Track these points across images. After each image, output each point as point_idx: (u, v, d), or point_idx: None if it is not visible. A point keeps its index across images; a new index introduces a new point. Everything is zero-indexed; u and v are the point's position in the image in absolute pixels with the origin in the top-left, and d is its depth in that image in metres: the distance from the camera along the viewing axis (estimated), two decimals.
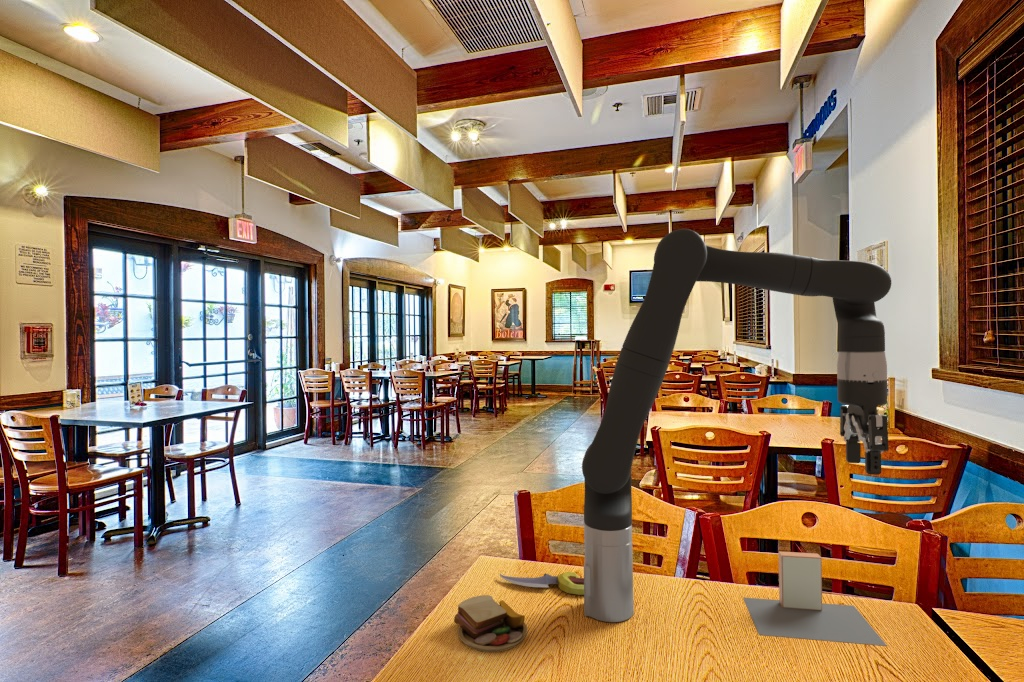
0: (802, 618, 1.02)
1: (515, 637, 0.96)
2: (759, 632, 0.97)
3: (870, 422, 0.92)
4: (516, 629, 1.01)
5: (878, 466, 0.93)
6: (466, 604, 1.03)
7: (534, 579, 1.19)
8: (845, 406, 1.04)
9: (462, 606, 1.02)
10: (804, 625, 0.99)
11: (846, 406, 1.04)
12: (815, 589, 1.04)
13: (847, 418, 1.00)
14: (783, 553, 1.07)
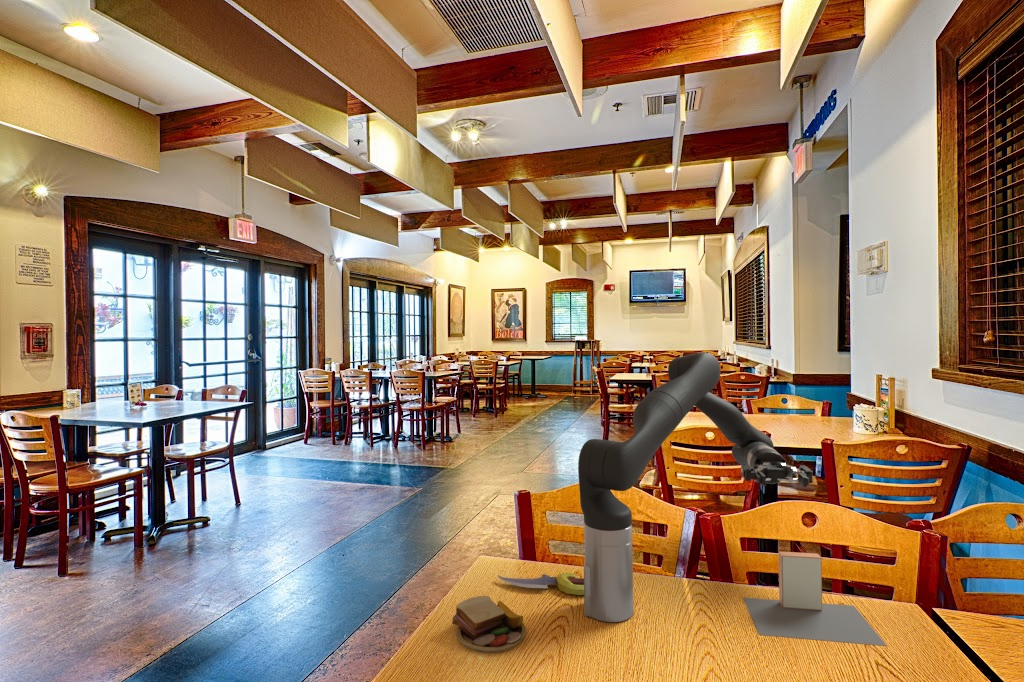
0: (802, 618, 1.02)
1: (514, 638, 0.96)
2: (759, 632, 0.97)
3: (805, 466, 1.24)
4: (514, 630, 1.01)
5: None
6: (464, 605, 1.02)
7: (533, 580, 1.19)
8: None
9: (460, 607, 1.02)
10: (804, 625, 0.99)
11: None
12: (815, 589, 1.04)
13: (768, 462, 1.25)
14: (783, 553, 1.07)
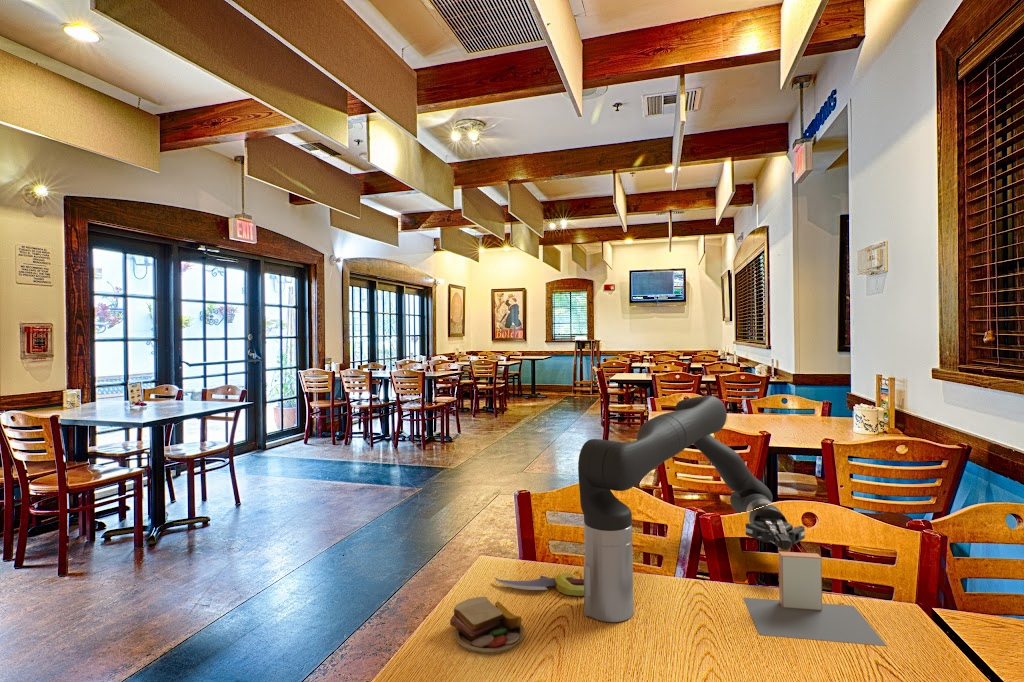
0: (802, 618, 1.02)
1: (513, 638, 0.96)
2: (759, 632, 0.97)
3: (801, 527, 1.23)
4: (513, 630, 1.01)
5: None
6: (462, 606, 1.02)
7: (531, 582, 1.18)
8: None
9: (458, 608, 1.01)
10: (804, 625, 0.99)
11: None
12: (815, 589, 1.04)
13: (768, 520, 1.26)
14: (783, 553, 1.07)
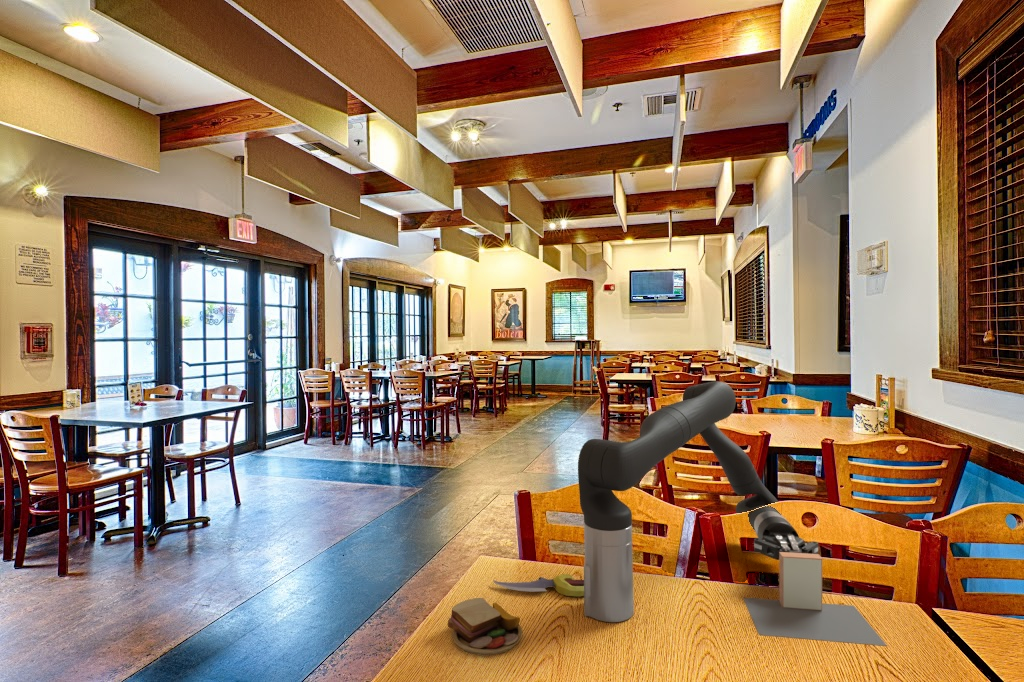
0: (802, 618, 1.02)
1: (511, 639, 0.95)
2: (759, 632, 0.97)
3: (814, 543, 1.14)
4: (511, 631, 1.00)
5: None
6: (459, 607, 1.01)
7: (530, 583, 1.17)
8: None
9: (455, 609, 1.01)
10: (804, 625, 0.99)
11: None
12: (815, 589, 1.04)
13: (778, 535, 1.17)
14: (784, 554, 1.06)
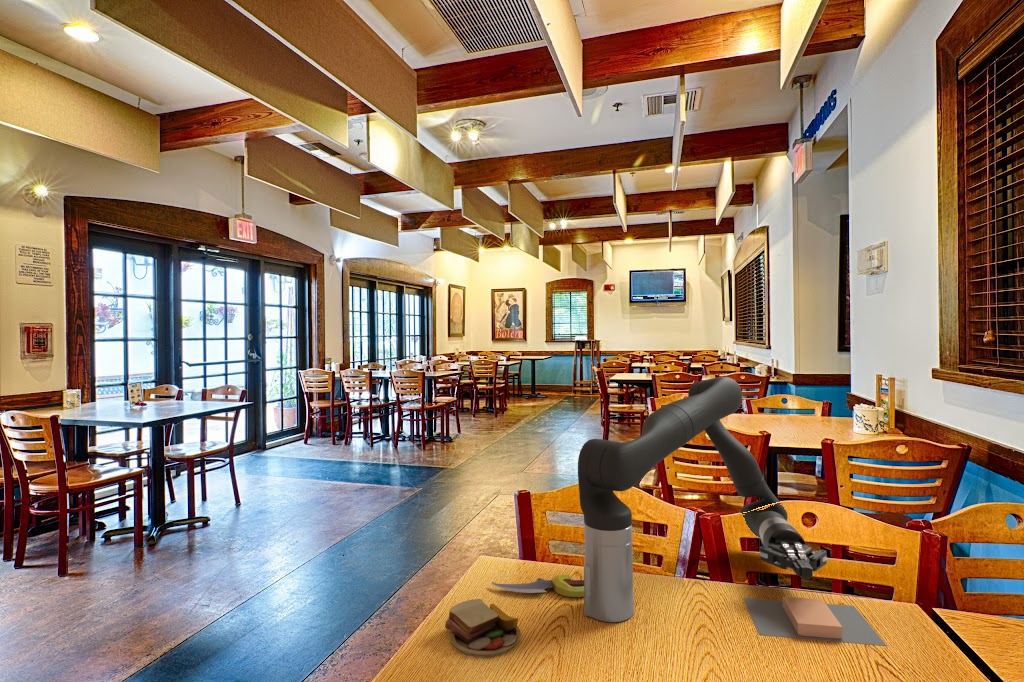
0: None
1: (510, 640, 0.95)
2: (759, 632, 0.97)
3: (822, 552, 1.09)
4: (509, 632, 1.00)
5: None
6: (457, 609, 1.01)
7: (529, 585, 1.17)
8: None
9: (453, 611, 1.00)
10: None
11: None
12: None
13: (785, 543, 1.12)
14: (802, 628, 0.96)
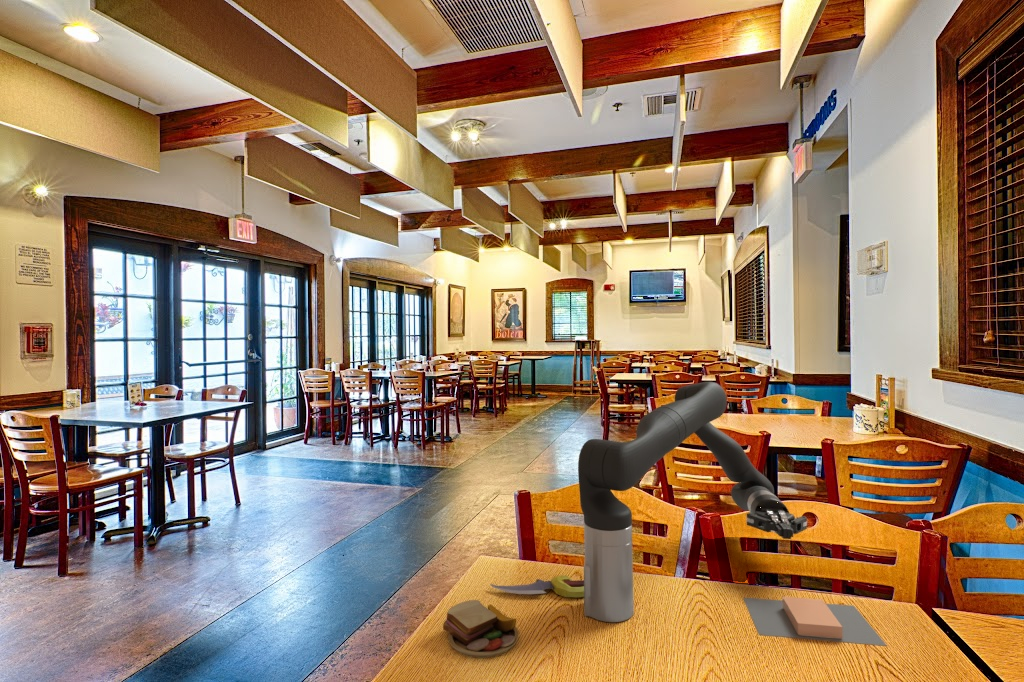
0: None
1: (508, 641, 0.95)
2: (759, 632, 0.97)
3: (803, 518, 1.20)
4: (507, 633, 1.00)
5: None
6: (455, 610, 1.00)
7: (529, 586, 1.16)
8: None
9: (451, 612, 1.00)
10: None
11: None
12: None
13: (770, 510, 1.23)
14: (802, 628, 0.96)
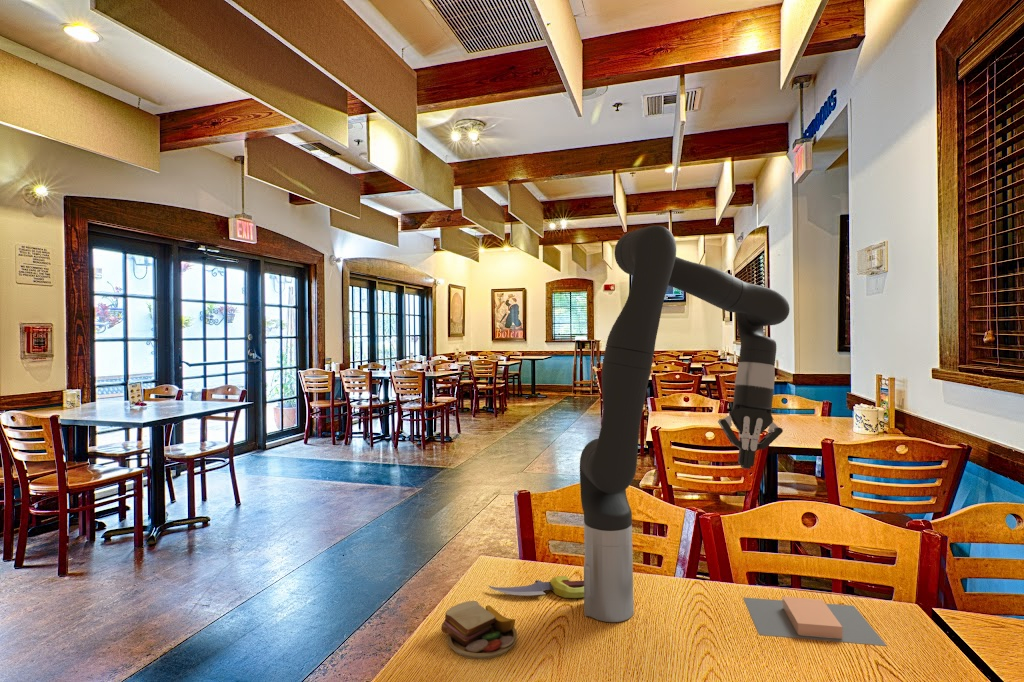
0: None
1: (507, 642, 0.95)
2: (759, 632, 0.97)
3: (778, 433, 1.14)
4: (505, 633, 1.00)
5: None
6: (453, 611, 1.00)
7: (528, 587, 1.15)
8: (723, 419, 1.16)
9: (449, 613, 0.99)
10: None
11: (723, 419, 1.17)
12: None
13: (747, 420, 1.14)
14: (802, 628, 0.96)
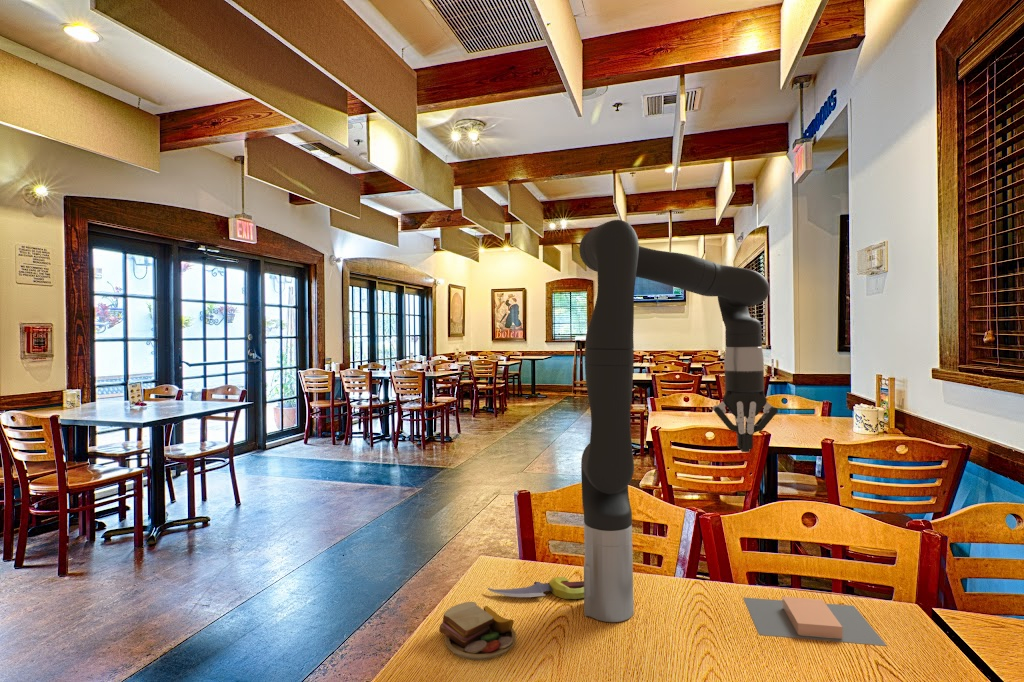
0: None
1: (506, 642, 0.94)
2: (759, 632, 0.97)
3: (773, 414, 1.13)
4: (504, 634, 0.99)
5: None
6: (451, 613, 1.00)
7: (527, 589, 1.15)
8: (716, 407, 1.16)
9: (447, 615, 0.99)
10: None
11: (716, 406, 1.16)
12: None
13: (741, 405, 1.14)
14: (802, 628, 0.96)
